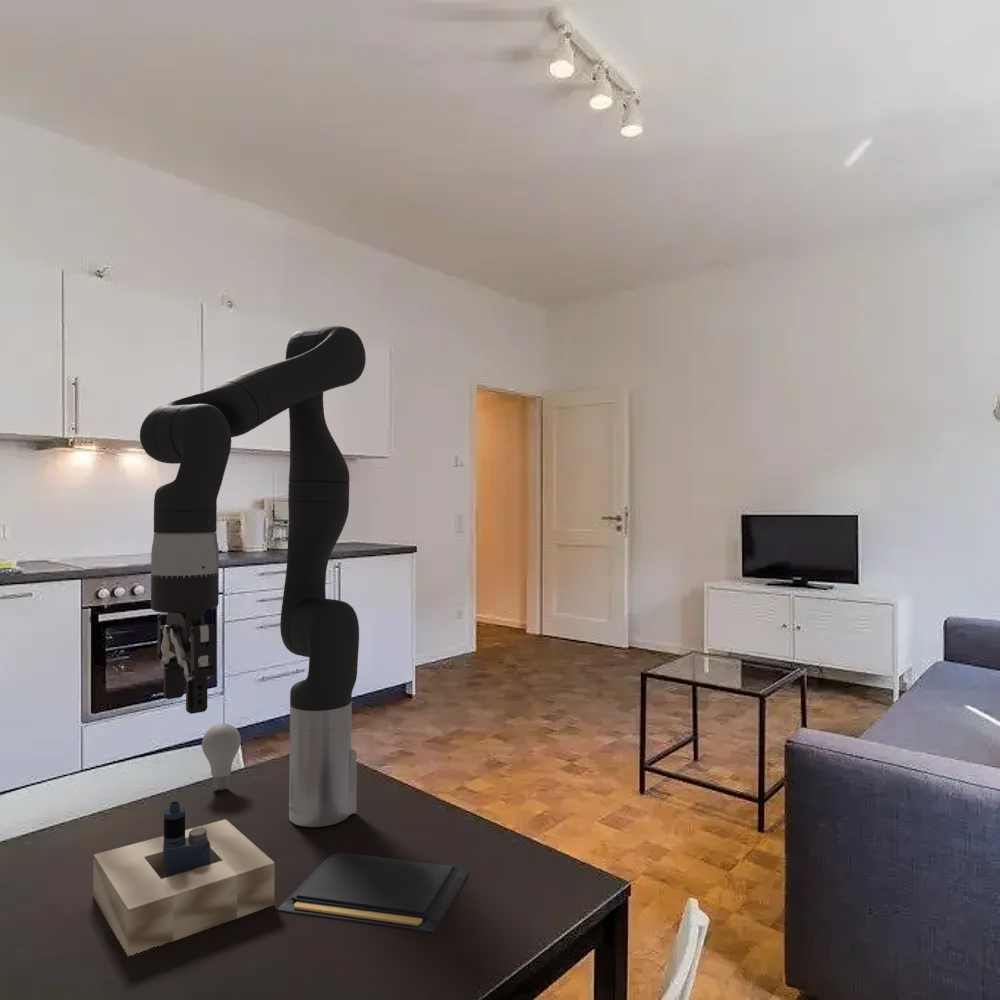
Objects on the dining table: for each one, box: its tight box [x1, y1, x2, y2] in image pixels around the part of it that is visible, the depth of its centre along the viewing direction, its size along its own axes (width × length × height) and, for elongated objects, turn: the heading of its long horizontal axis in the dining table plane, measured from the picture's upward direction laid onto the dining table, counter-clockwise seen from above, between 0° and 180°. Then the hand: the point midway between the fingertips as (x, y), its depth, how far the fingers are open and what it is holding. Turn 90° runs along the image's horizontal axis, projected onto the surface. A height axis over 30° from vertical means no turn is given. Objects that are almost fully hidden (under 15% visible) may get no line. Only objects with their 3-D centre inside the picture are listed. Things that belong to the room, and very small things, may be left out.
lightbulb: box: [201, 723, 242, 791], centre depth 123 cm, size 6×6×11 cm
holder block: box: [92, 819, 276, 957], centre depth 89 cm, size 16×16×5 cm
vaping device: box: [163, 800, 210, 877], centre depth 88 cm, size 3×5×12 cm, turn 112°
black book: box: [275, 852, 470, 935], centre depth 91 cm, size 20×2×15 cm
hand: (184, 704), depth 89 cm, fingers open, 8 cm apart
